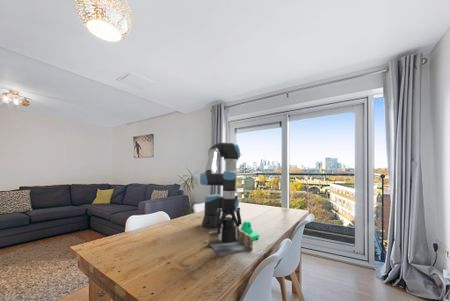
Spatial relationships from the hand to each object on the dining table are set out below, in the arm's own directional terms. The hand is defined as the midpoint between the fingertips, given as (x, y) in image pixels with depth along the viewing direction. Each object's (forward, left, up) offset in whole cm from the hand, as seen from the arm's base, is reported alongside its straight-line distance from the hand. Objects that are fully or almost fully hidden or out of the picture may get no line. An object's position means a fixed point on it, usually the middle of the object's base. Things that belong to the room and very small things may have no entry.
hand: (227, 238), depth 112 cm
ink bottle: (0, 0, -1) cm, 1 cm away
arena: (-1, +2, -5) cm, 6 cm away
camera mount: (-9, +20, -6) cm, 22 cm away
